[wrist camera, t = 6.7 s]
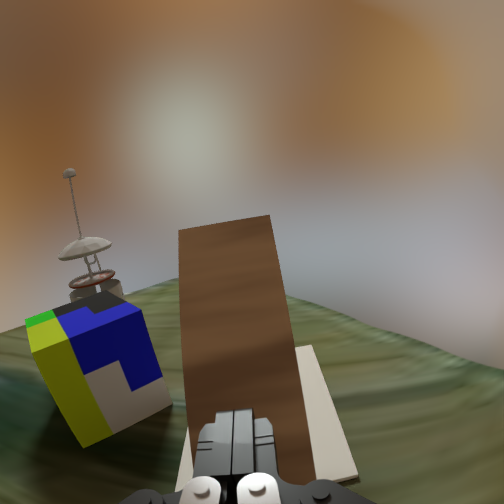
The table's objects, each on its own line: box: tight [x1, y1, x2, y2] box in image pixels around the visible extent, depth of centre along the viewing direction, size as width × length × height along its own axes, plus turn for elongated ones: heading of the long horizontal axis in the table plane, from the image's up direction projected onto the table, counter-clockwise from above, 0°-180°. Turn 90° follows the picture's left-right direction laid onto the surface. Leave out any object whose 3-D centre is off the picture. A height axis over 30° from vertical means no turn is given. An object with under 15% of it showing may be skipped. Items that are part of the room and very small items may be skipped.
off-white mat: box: [175, 345, 358, 492], centre depth 24 cm, size 18×12×1 cm, turn 1°
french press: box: [58, 168, 125, 302], centre depth 40 cm, size 10×12×25 cm
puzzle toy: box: [25, 290, 173, 448], centre depth 26 cm, size 10×10×10 cm
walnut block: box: [179, 215, 317, 486], centre depth 18 cm, size 4×6×18 cm
